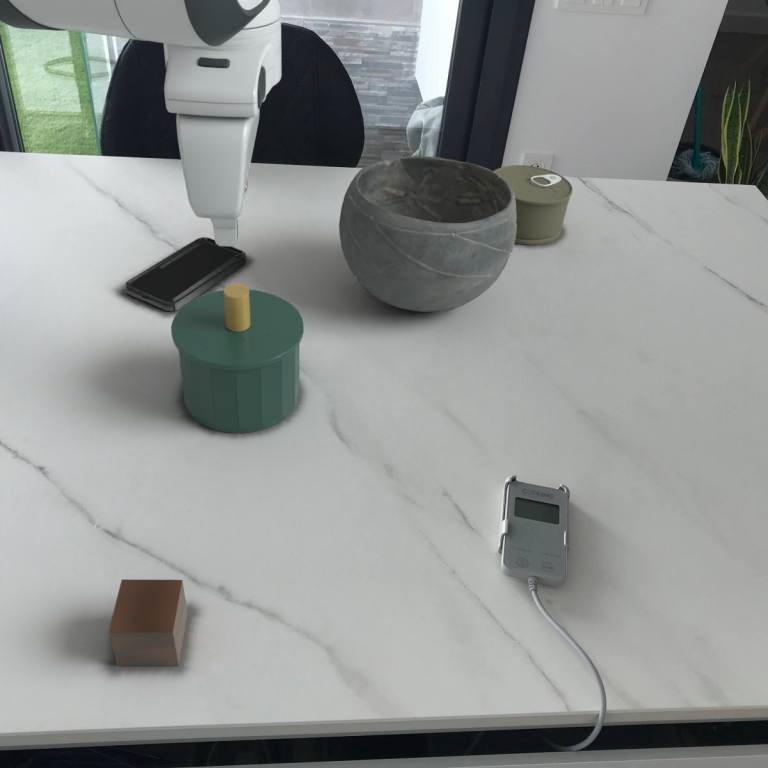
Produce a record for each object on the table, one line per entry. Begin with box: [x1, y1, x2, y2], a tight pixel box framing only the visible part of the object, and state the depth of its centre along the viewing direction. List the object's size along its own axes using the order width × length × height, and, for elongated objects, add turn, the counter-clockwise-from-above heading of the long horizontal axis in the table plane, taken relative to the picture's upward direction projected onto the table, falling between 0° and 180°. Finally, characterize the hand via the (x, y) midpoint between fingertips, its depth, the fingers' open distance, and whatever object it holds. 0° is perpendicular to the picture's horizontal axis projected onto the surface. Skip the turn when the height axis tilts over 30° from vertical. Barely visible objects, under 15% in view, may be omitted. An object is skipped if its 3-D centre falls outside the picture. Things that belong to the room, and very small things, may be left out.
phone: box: [125, 236, 247, 312], centre depth 98 cm, size 8×1×15 cm
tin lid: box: [170, 283, 305, 370], centre depth 75 cm, size 13×13×5 cm
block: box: [108, 578, 188, 667], centre depth 58 cm, size 4×4×4 cm
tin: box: [178, 342, 301, 434], centre depth 79 cm, size 12×12×8 cm
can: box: [492, 164, 573, 246], centre depth 114 cm, size 12×12×7 cm
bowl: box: [338, 155, 517, 313], centre depth 95 cm, size 21×21×15 cm
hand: (232, 214), depth 69 cm, fingers open, 8 cm apart
